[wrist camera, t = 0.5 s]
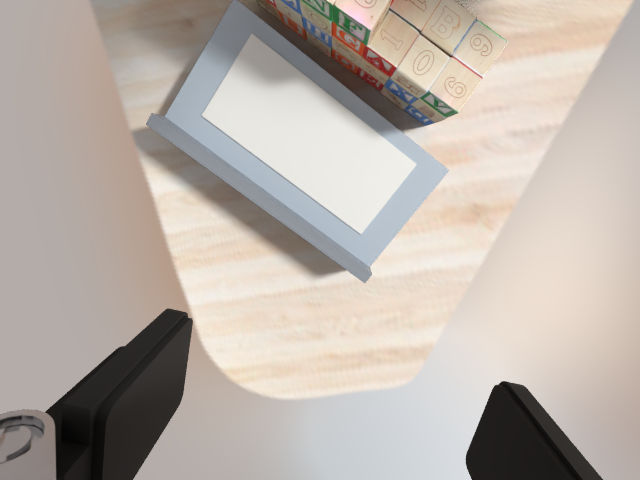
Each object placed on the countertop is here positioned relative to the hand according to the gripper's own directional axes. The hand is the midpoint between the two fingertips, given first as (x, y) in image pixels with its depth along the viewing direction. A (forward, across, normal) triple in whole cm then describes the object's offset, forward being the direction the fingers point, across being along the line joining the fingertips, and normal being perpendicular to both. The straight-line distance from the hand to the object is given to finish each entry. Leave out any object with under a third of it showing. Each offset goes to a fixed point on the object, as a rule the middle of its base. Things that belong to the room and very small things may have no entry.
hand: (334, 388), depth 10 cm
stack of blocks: (+29, +1, -18) cm, 35 cm away
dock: (+29, +5, -7) cm, 30 cm away
